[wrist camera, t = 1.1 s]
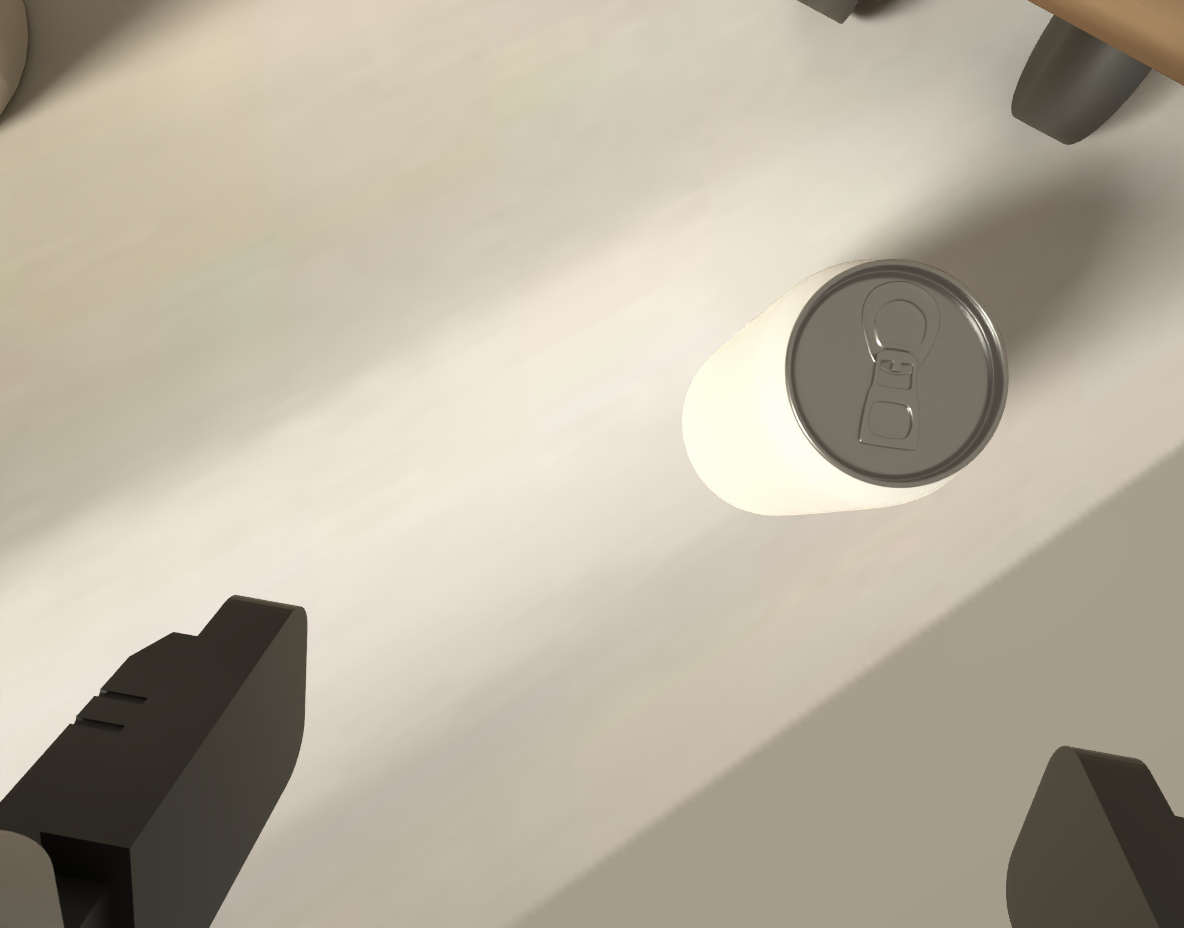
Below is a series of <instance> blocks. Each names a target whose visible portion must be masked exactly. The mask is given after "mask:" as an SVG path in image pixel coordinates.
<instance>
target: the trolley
mask: <svg viewBox="0 0 1184 928" xmlns="http://www.w3.org/2000/svg"><path fill="white" fill-rule="evenodd" d="M798 1H800V2H801V3H803V4H805V5H807V6H809V7H811V8H813V9H814V10H816V11H818V12H820V13H822V14H824V15H826V16H827V17H829V18H831V19H833V20H835V21H837V22H839V23H840V24H842V23H843V22H844V21H845V20H846V19H847V18H848V16H849V15H850V14H851V12H852V11H853V9H854V8H855V6H856V5H857V3H858V2H859V0H798ZM1028 1H1030V2H1032V3H1034V4H1035V5H1037V6H1039V7H1041V8H1043V9H1045V10H1046V11H1048V12H1050V13H1052V14H1054V16H1053V17H1052V19H1051V20H1050V22H1049V24H1048V25H1047V27H1046V28H1045V30H1044V32H1043V33H1042V35H1041V37H1040V39H1039V40H1038V42H1037V44H1036V46H1035V48H1034V50H1033V51H1032V53H1031V55H1030V57H1029V59H1028V61H1027V63H1026V65H1025V67H1024V70H1023V72H1022V74H1021V76H1020V79H1019V81H1018V84H1017V87H1016V90H1015V93H1014V96H1013V100H1012V107H1011V110H1012V115H1013V116H1014V117H1015V118H1017V119H1019V120H1021V121H1022V122H1024V123H1026V124H1028V125H1030V126H1032V127H1034V128H1035V129H1037V130H1039V131H1041V132H1043V133H1045V134H1047V135H1048V136H1050V137H1052V138H1054V139H1056V140H1058V141H1060V142H1061V143H1063V144H1067V145H1070V144H1074V143H1076V142H1079V141H1081V140H1082V139H1084V138H1086V137H1087V136H1089V135H1090V134H1091V133H1093V132H1094V131H1095V130H1097V129H1098V128H1099V127H1100V126H1101V125H1102V124H1104V123H1105V122H1106V121H1107V120H1108V119H1109V118H1110V117H1111V116H1112V115H1113V114H1114V113H1115V112H1116V111H1117V110H1118V109H1119V108H1120V107H1121V105H1122V104H1123V103H1124V102H1125V101H1126V100H1127V99H1128V98H1129V96H1130V95H1131V94H1132V93H1133V92H1134V91H1135V89H1136V88H1137V87H1138V86H1139V84H1140V83H1141V82H1142V81H1143V80H1144V78H1145V77H1146V76H1147V74H1148V73H1149V72H1150V70H1151V69H1152V68H1153V69H1155V70H1156V71H1158V72H1160V73H1162V74H1164V75H1166V76H1167V77H1169V78H1171V79H1173V80H1175V81H1177V82H1178V83H1180V84H1182V85H1184V0H1028Z"/></svg>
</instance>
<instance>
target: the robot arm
mask: <svg viewBox="0 0 1184 928" xmlns="http://www.w3.org/2000/svg"><path fill="white" fill-rule="evenodd" d="M28 38H29V36H28V26H27V17H26V9H25V6H24V3H23V0H0V115H1V113H2V112H3V110H4V109H5V107H6V106H7V104H8V102H9V101H10V99H11V98H12V96H13V94H14V93H15V91H16V89H17V86H18V83H19V81H20V78H21V75H22V72H23V69H24V67H25V63H26V55H27V46H28ZM306 657H307V615H306V612H305V609H304V608H303V607H300V606H294V605H289V604H283V603H278V602H272V601H267V600H261V599H255V598H250V597H244V596H239V595H233V596H231V597H230V598H229V599H228V600H227V601H226V602H225V603H224V604H223V605H222V607H221V608H220V609H219V610H218V612H217V613H216V614H215V615H214V617H213V618H212V619H211V620H210V621H209V623H208V624H207V625H206V626H205V628H204V629H203V630H202V631H201V633H200V634H199V635H198V636H192V635H187V634H181V633H176V632H173V633H171V634H169V635H167V636H165V637H164V638H162V639H160V640H158V641H156V642H155V643H153V644H151V645H149V646H148V647H146V648H144V649H142V650H140V651H139V652H137V653H135V654H133V655H131V656H130V657H129V658H128V659H127V660H126V661H125V662H124V663H123V664H122V666H121V667H120V668H119V669H118V670H117V671H116V672H115V673H114V675H113V676H112V677H111V678H110V679H109V680H108V681H107V682H106V684H105V685H104V686H103V687H102V688H101V689H100V694H99V696H94V697H93V698H92V699H91V701H90V702H89V703H88V704H87V705H86V706H85V707H84V708H83V710H82V711H81V712H80V713H79V714H78V715H77V716H76V721H75V723H74V724H69V725H68V726H67V728H66V729H65V730H64V731H63V732H62V733H61V734H60V735H59V737H58V738H57V739H56V740H55V741H54V742H53V743H52V745H51V746H50V747H49V748H48V749H47V750H46V751H45V752H44V754H43V755H42V756H41V757H40V758H39V759H38V760H37V761H36V763H35V764H34V765H33V766H32V767H31V768H30V769H29V770H28V772H27V773H26V774H25V775H24V776H23V777H22V778H21V779H20V781H19V782H18V783H17V784H16V785H15V786H14V787H13V789H12V790H11V791H10V792H9V793H8V794H7V795H6V796H5V798H4V799H3V800H2V801H1V802H0V928H209V927H210V925H211V923H212V921H213V920H214V918H215V916H216V914H217V912H218V910H219V908H220V907H221V905H222V903H223V901H224V899H225V897H226V896H227V894H228V892H229V890H230V888H231V886H232V885H233V883H234V881H235V879H236V877H237V875H238V874H239V872H240V870H241V868H242V866H243V864H244V863H245V861H246V859H247V857H248V855H249V853H250V851H251V850H252V848H253V846H254V844H255V842H256V840H257V839H258V837H259V835H260V833H261V831H262V829H263V828H264V826H265V824H266V822H267V820H268V818H269V817H270V815H271V813H272V811H273V809H274V807H275V806H276V804H277V802H278V800H279V798H280V796H281V794H282V793H283V791H284V789H285V787H286V785H287V783H288V781H289V779H290V777H291V775H292V773H293V770H294V767H295V764H296V761H297V758H298V755H299V751H300V747H301V742H302V737H303V731H304V721H305V690H306ZM1006 900H1007V909H1008V914H1009V918H1010V922H1011V925H1012V928H1184V818H1183V817H1178V816H1175V815H1174V814H1173V812H1172V810H1171V808H1170V806H1169V805H1168V803H1167V801H1166V799H1165V797H1164V796H1163V794H1162V792H1161V790H1160V788H1159V787H1158V785H1157V783H1156V781H1155V779H1154V778H1153V776H1152V774H1151V772H1150V770H1149V769H1148V768H1147V766H1146V765H1145V764H1144V763H1143V762H1142V761H1141V760H1139V759H1135V758H1130V757H1124V756H1118V755H1112V754H1108V753H1101V752H1096V751H1090V750H1085V749H1080V748H1074V747H1069V746H1063V747H1060V748H1058V749H1057V750H1056V751H1055V753H1054V754H1053V755H1052V757H1051V758H1050V761H1049V763H1048V765H1047V768H1046V770H1045V772H1044V775H1043V777H1042V780H1041V782H1040V785H1039V787H1038V790H1037V792H1036V795H1035V797H1034V799H1033V802H1032V804H1031V807H1030V809H1029V812H1028V814H1027V817H1026V819H1025V822H1024V824H1023V827H1022V829H1021V832H1020V834H1019V837H1018V839H1017V842H1016V844H1015V846H1014V849H1013V851H1012V854H1011V857H1010V861H1009V866H1008V871H1007V881H1006Z"/></svg>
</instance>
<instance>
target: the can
mask: <svg viewBox="0 0 1184 928" xmlns="http://www.w3.org/2000/svg"><path fill="white" fill-rule="evenodd" d="M1007 393H1008V363H1007V356H1006V351H1005V347H1004V344H1003V341H1002V338H1001V335H1000V333H999V330H998V328H997V326H996V324H995V322H994V320H993V318H992V317H991V315H990V313H989V312H988V310H987V309H986V308H985V306H984V305H983V304H982V302H981V301H980V300H979V299H978V298H977V297H976V296H975V295H974V293H973V292H971V291H970V290H969V289H968V288H967V287H966V286H965V285H963V284H962V283H961V282H960V281H958V280H957V279H955V278H954V277H952V276H950V275H949V274H947V273H945V272H943V271H941V270H939V269H937V268H934V267H932V266H929V265H926V264H922V263H919V262H914V261H908V260H896V259H890V260H862V261H853V262H847V263H843V264H839V265H836V266H833V267H830V268H827V269H825V270H823V271H820V272H818V273H816V274H814V275H812V276H810V277H809V278H807V279H805V280H804V281H802V282H801V283H799V284H798V285H796V286H795V287H794V288H792V289H791V290H790V291H788V292H787V293H786V294H785V295H783V296H782V297H781V298H780V299H778V300H777V301H776V302H775V303H773V304H772V305H771V306H770V307H768V308H767V309H766V310H765V311H764V312H762V313H761V314H760V315H759V316H757V317H756V318H755V319H754V320H753V321H751V322H750V323H749V324H748V325H747V326H745V327H744V328H743V329H742V330H741V331H739V332H738V333H737V334H736V335H735V336H734V337H732V338H731V339H730V340H729V341H728V342H726V343H725V344H724V345H723V346H722V347H721V348H720V349H718V350H717V351H716V352H715V353H714V354H713V355H712V356H711V357H710V358H709V359H708V360H707V361H706V362H705V363H704V364H703V366H702V367H701V368H700V370H699V371H698V373H697V374H696V376H695V377H694V379H693V381H692V383H691V385H690V387H689V390H688V393H687V396H686V399H685V403H684V408H683V418H682V427H683V437H684V442H685V447H686V450H687V453H688V456H689V458H690V461H691V463H692V465H693V467H694V469H695V470H696V472H697V473H698V475H699V476H700V478H701V479H702V480H703V482H704V483H705V484H706V485H707V486H708V487H709V488H710V489H711V490H712V491H713V492H714V493H715V494H716V495H717V496H719V497H720V498H721V499H723V500H724V501H726V502H728V503H729V504H731V505H733V506H735V507H737V508H740V509H742V510H745V511H748V512H752V513H756V514H761V515H771V516H782V515H800V514H814V513H826V512H839V511H850V510H861V509H871V508H881V507H888V506H894V505H899V504H903V503H907V502H910V501H913V500H916V499H919V498H921V497H923V496H926V495H928V494H930V493H932V492H934V491H936V490H937V489H939V488H941V487H942V486H944V485H945V484H946V483H948V482H949V481H950V480H952V479H953V478H954V477H955V476H956V475H957V474H958V473H959V472H960V471H961V470H962V469H963V468H964V467H965V466H966V465H968V464H969V463H970V462H971V461H972V460H973V459H975V458H976V457H977V456H978V454H979V453H980V452H981V451H982V450H983V449H984V448H985V446H986V445H987V444H988V442H989V441H990V439H991V438H992V436H993V434H994V433H995V431H996V429H997V427H998V425H999V422H1000V420H1001V417H1002V414H1003V411H1004V408H1005V404H1006V399H1007Z"/></svg>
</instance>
